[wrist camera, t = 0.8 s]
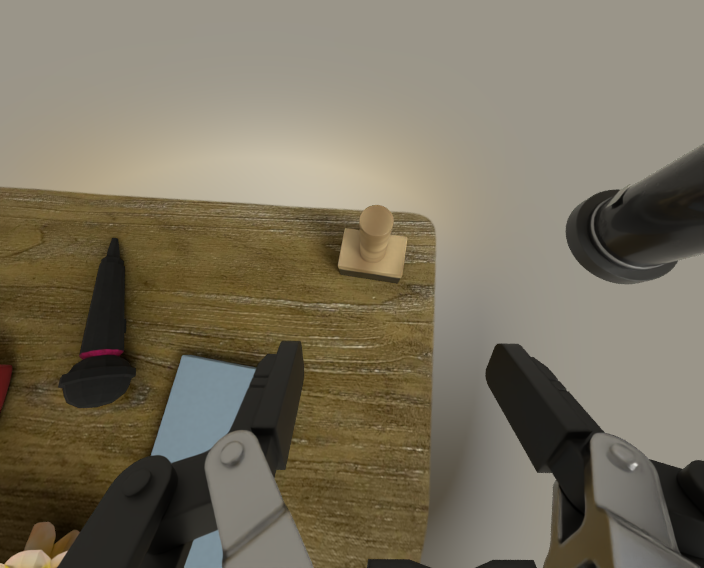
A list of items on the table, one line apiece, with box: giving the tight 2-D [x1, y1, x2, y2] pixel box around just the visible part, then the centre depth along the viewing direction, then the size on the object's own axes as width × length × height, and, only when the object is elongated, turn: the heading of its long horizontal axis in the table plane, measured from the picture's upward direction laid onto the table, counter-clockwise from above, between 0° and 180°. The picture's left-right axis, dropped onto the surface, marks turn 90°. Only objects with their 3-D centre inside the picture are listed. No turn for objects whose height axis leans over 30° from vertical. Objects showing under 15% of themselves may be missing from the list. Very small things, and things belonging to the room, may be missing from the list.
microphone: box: [58, 238, 136, 408], centre depth 29 cm, size 6×6×20 cm
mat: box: [151, 355, 256, 568], centre depth 26 cm, size 12×20×1 cm, turn 170°
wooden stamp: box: [338, 205, 407, 283], centre depth 26 cm, size 7×4×11 cm, turn 80°
